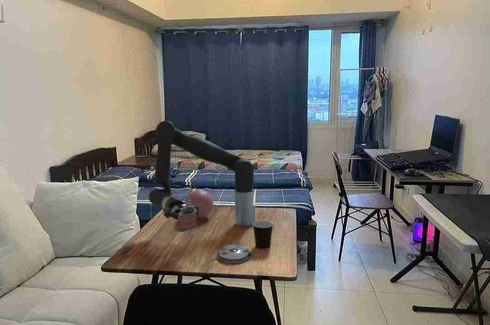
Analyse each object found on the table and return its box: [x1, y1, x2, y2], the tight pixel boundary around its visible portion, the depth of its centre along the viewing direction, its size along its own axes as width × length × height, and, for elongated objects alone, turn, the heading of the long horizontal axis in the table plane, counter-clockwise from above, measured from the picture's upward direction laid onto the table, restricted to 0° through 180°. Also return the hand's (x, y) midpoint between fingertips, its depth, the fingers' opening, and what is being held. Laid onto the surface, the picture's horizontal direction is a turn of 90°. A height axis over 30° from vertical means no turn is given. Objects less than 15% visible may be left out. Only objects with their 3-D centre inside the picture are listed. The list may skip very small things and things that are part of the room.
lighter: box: [177, 205, 197, 233], centre depth 151 cm, size 8×3×10 cm, turn 131°
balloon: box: [183, 189, 214, 220], centre depth 199 cm, size 15×20×15 cm
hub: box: [216, 244, 252, 265], centre depth 153 cm, size 14×14×3 cm
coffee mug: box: [252, 220, 274, 250], centre depth 164 cm, size 12×9×10 cm
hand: (187, 215), depth 150 cm, fingers closed on lighter, 8 cm apart
